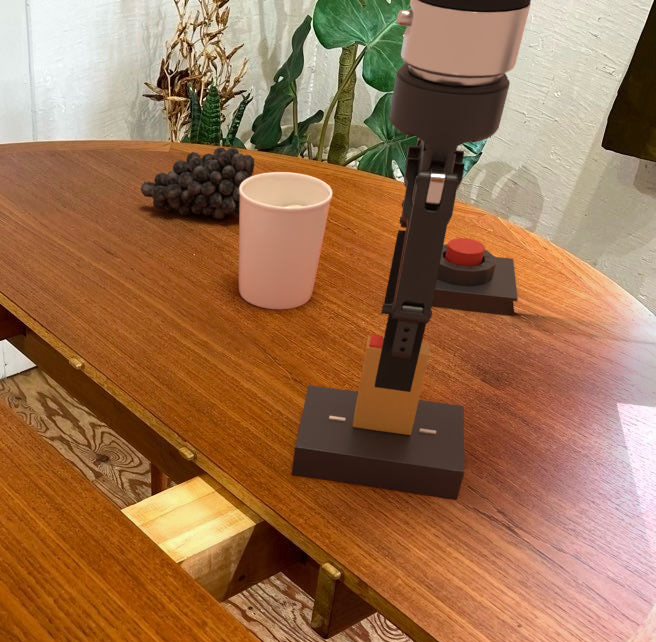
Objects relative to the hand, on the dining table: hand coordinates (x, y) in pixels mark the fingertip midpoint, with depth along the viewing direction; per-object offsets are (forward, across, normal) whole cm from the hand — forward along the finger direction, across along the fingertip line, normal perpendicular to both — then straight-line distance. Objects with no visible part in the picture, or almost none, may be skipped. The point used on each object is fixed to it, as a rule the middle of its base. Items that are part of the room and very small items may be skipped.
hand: (396, 343), depth 79 cm
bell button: (+8, -34, +7) cm, 36 cm away
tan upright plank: (+8, 0, 0) cm, 8 cm away
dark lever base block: (+11, 0, 0) cm, 11 cm away
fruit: (+12, -48, -26) cm, 56 cm away
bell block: (+11, -34, +7) cm, 37 cm away
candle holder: (+11, -28, -13) cm, 33 cm away
